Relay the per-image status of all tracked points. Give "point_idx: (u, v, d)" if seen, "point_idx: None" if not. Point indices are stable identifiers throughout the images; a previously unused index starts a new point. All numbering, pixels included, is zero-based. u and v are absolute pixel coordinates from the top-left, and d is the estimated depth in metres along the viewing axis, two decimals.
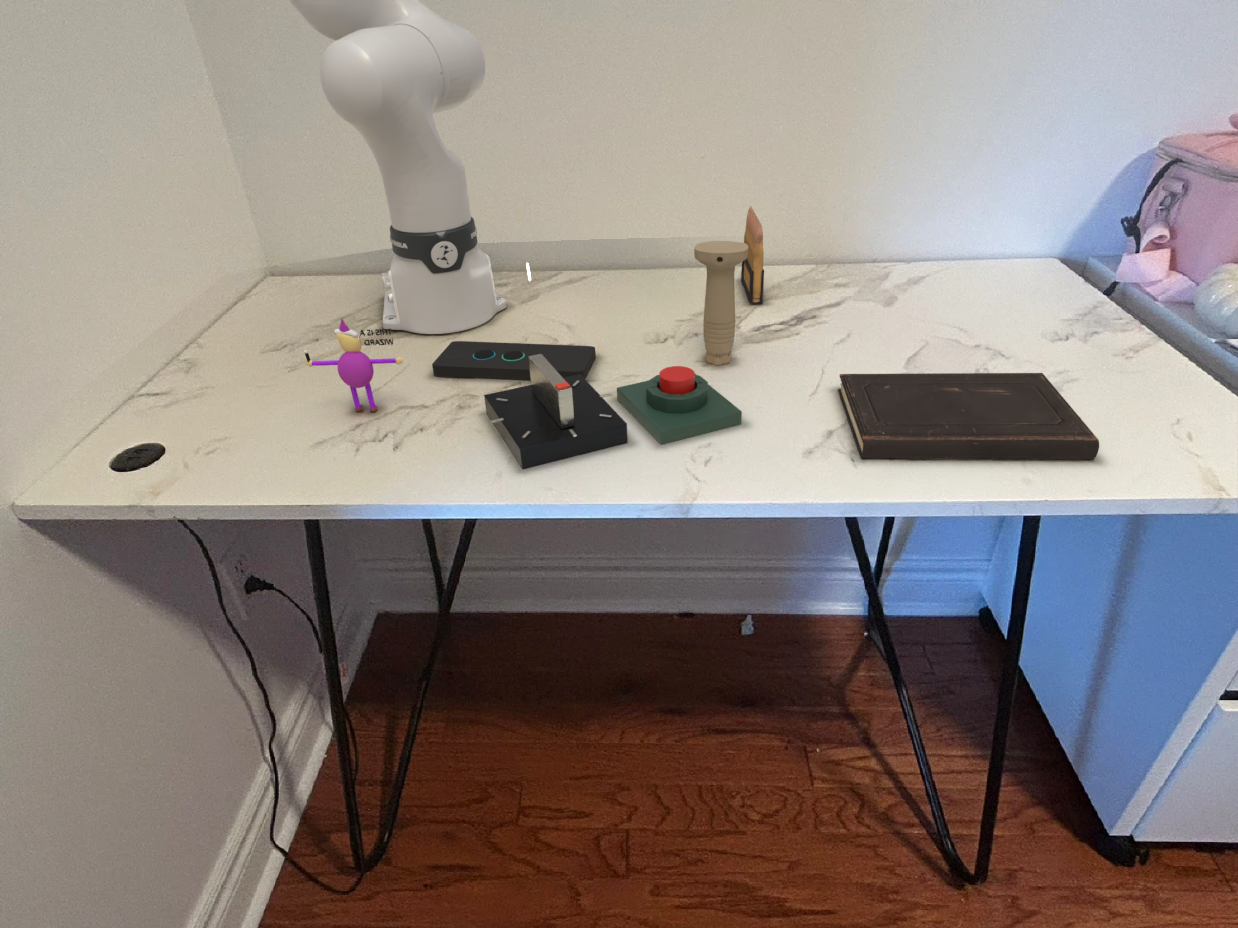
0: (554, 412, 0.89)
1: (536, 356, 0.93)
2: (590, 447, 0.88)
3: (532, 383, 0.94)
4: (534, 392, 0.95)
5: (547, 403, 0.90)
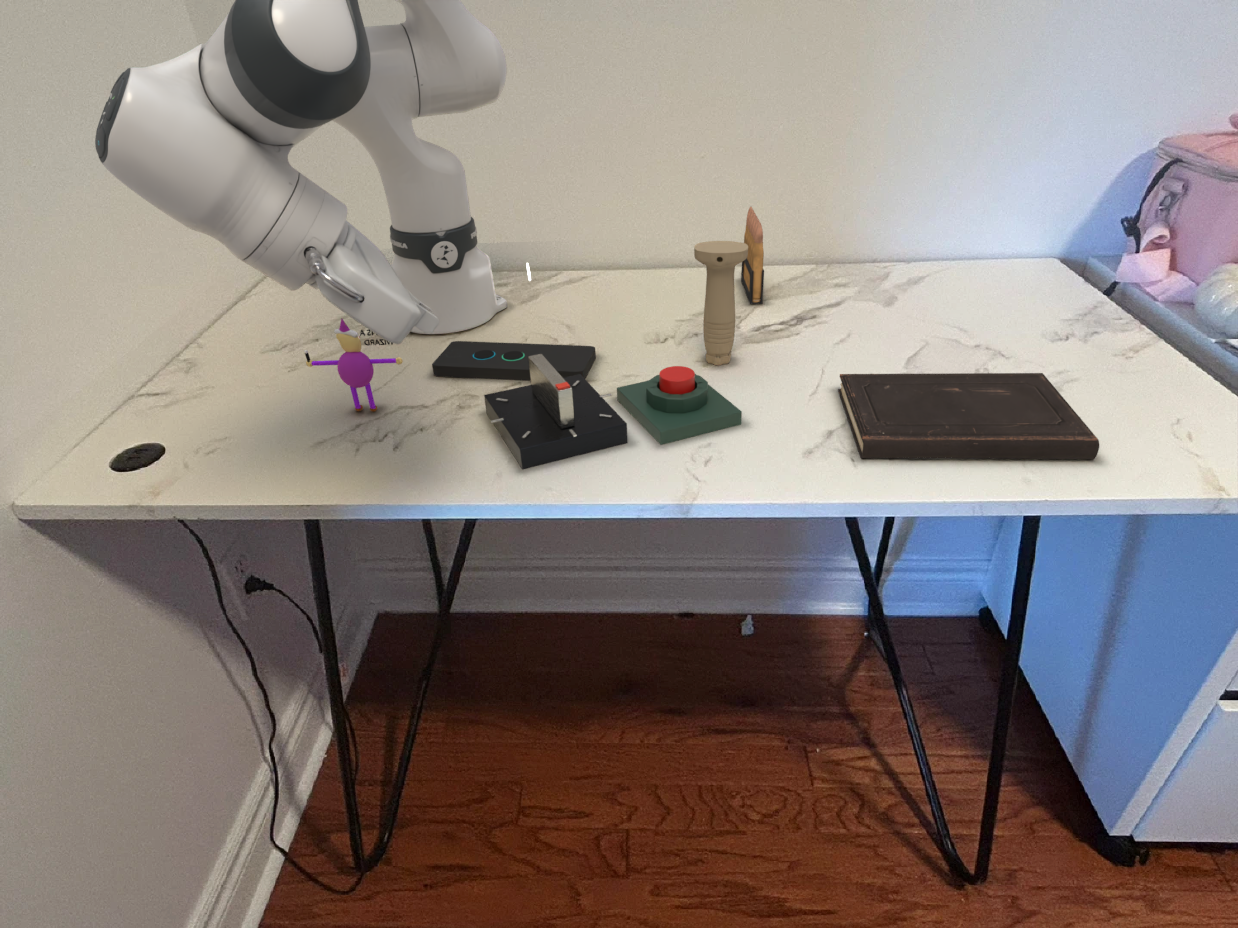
0: (554, 412, 0.89)
1: (536, 356, 0.93)
2: (590, 447, 0.88)
3: (532, 383, 0.94)
4: (534, 392, 0.95)
5: (547, 403, 0.90)
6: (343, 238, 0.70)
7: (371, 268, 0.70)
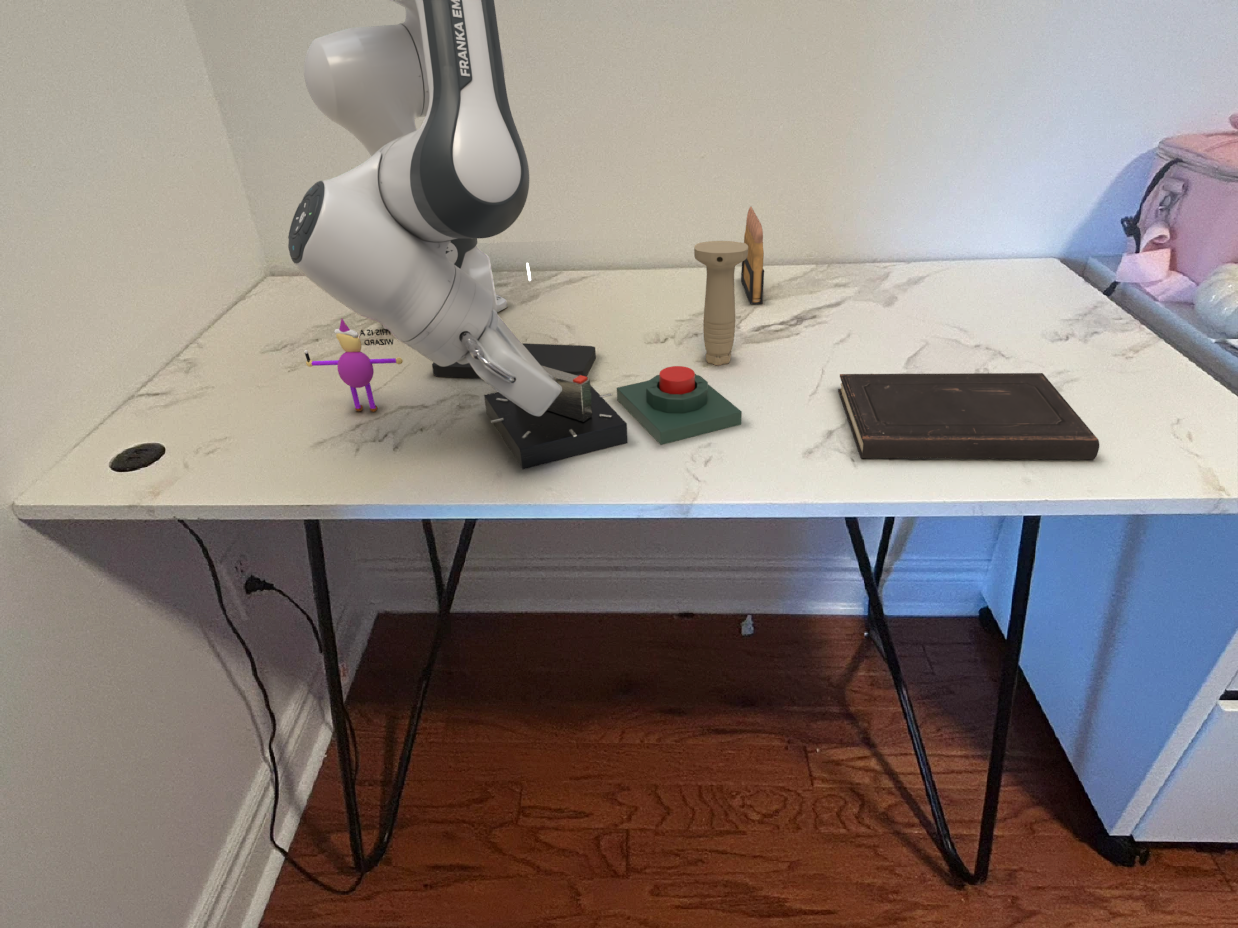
0: (569, 408, 0.89)
1: None
2: (590, 447, 0.88)
3: None
4: None
5: (553, 403, 0.90)
6: (489, 321, 0.79)
7: (513, 347, 0.79)
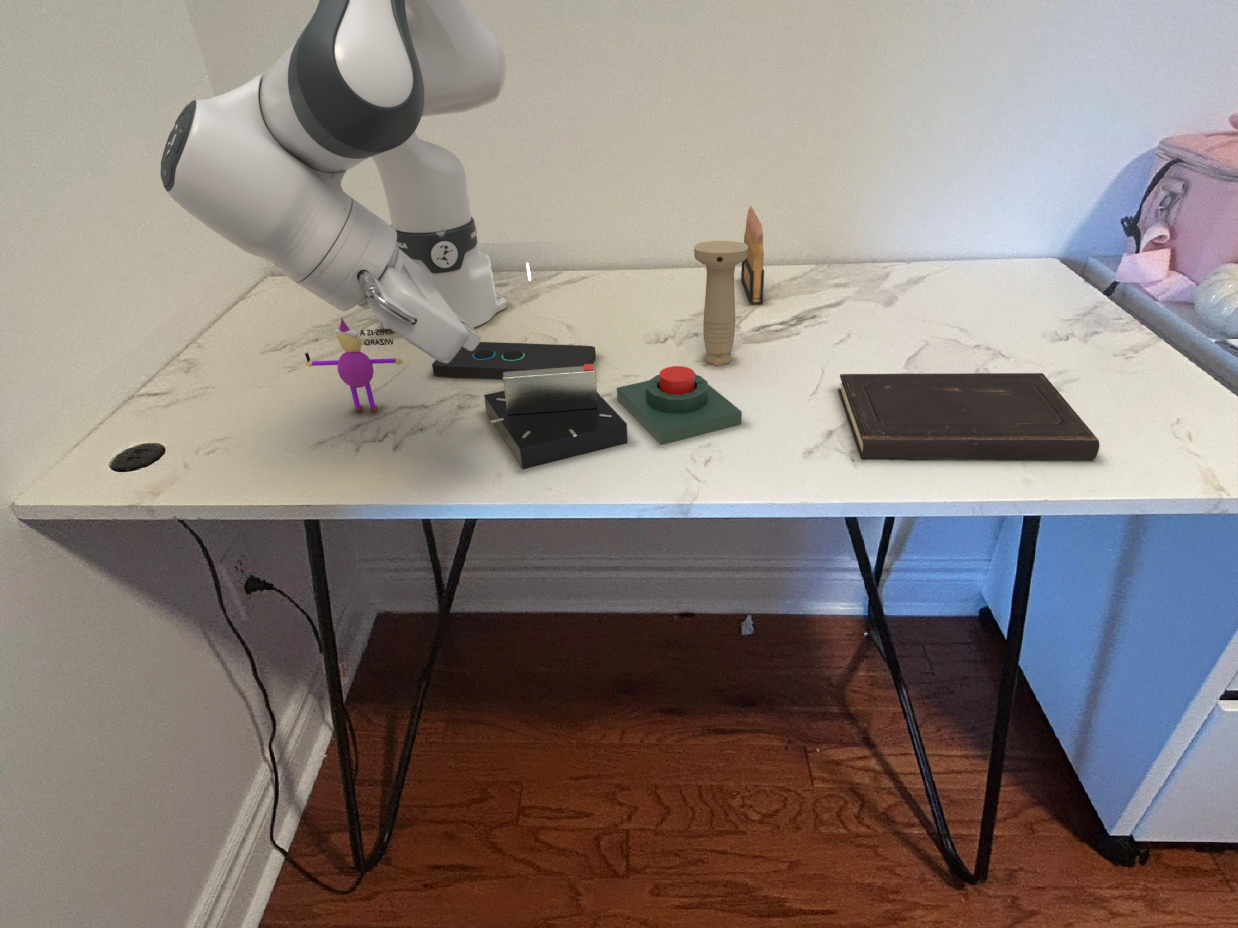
0: (580, 400, 0.91)
1: (508, 374, 0.89)
2: (590, 447, 0.88)
3: (511, 403, 0.90)
4: (517, 410, 0.91)
5: (559, 401, 0.91)
6: (393, 261, 0.72)
7: (419, 289, 0.73)
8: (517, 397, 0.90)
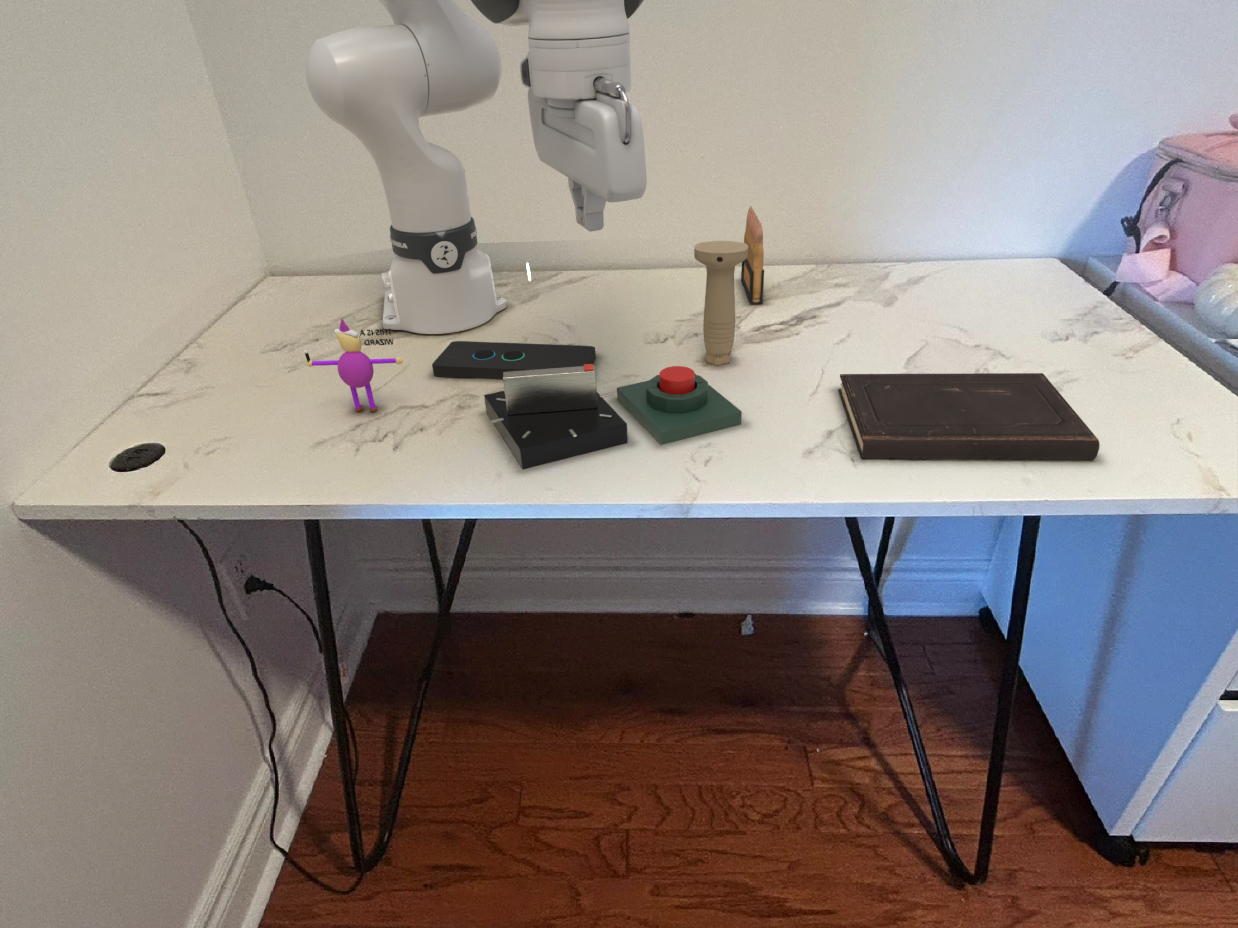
0: (580, 400, 0.91)
1: (508, 374, 0.89)
2: (590, 447, 0.88)
3: (511, 403, 0.90)
4: (517, 410, 0.91)
5: (559, 401, 0.91)
6: None
7: None
8: (517, 397, 0.90)
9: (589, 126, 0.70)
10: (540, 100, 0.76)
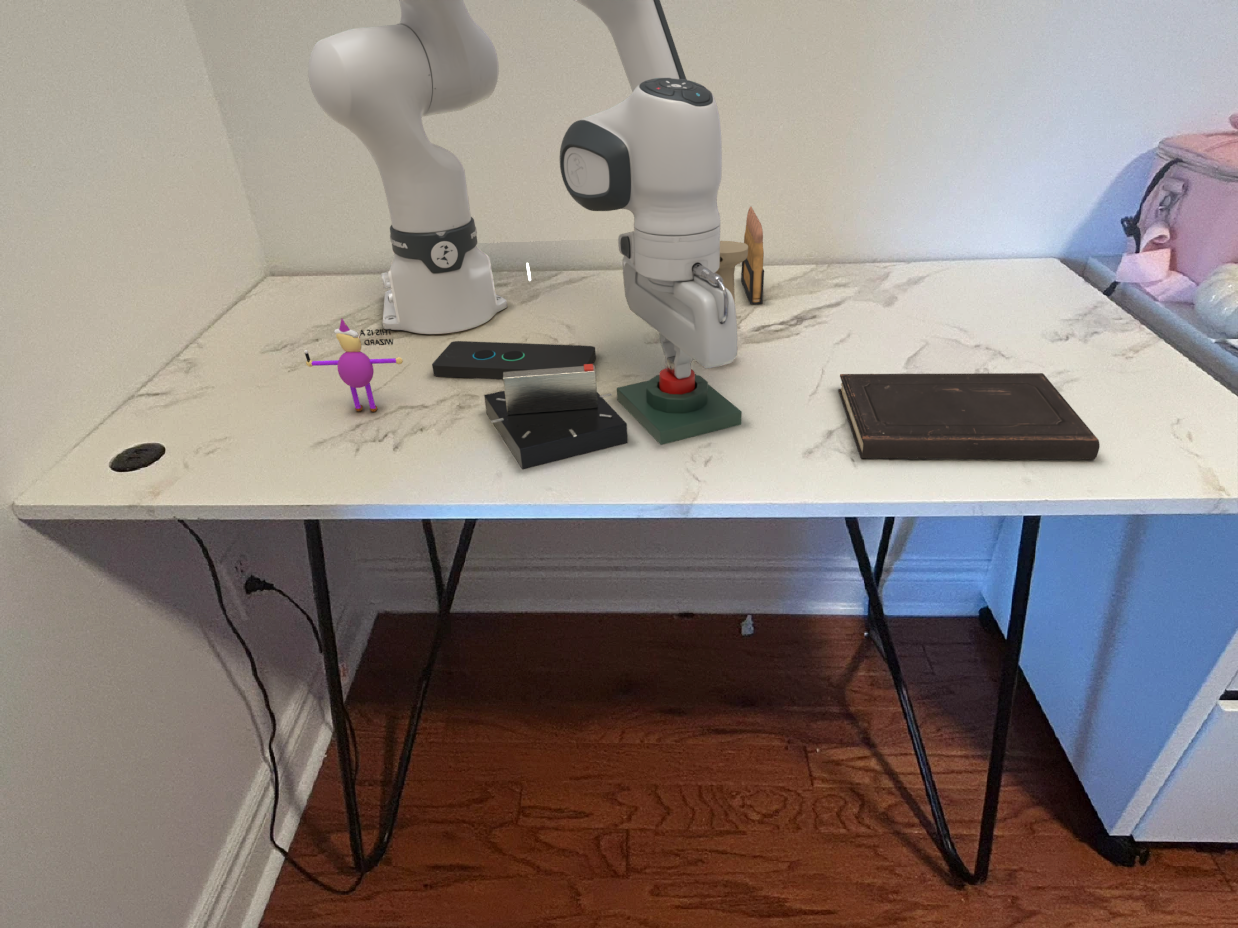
0: (580, 400, 0.91)
1: (508, 374, 0.89)
2: (590, 447, 0.88)
3: (511, 403, 0.90)
4: (517, 410, 0.91)
5: (559, 401, 0.91)
6: None
7: None
8: (517, 397, 0.90)
9: (688, 305, 0.82)
10: None
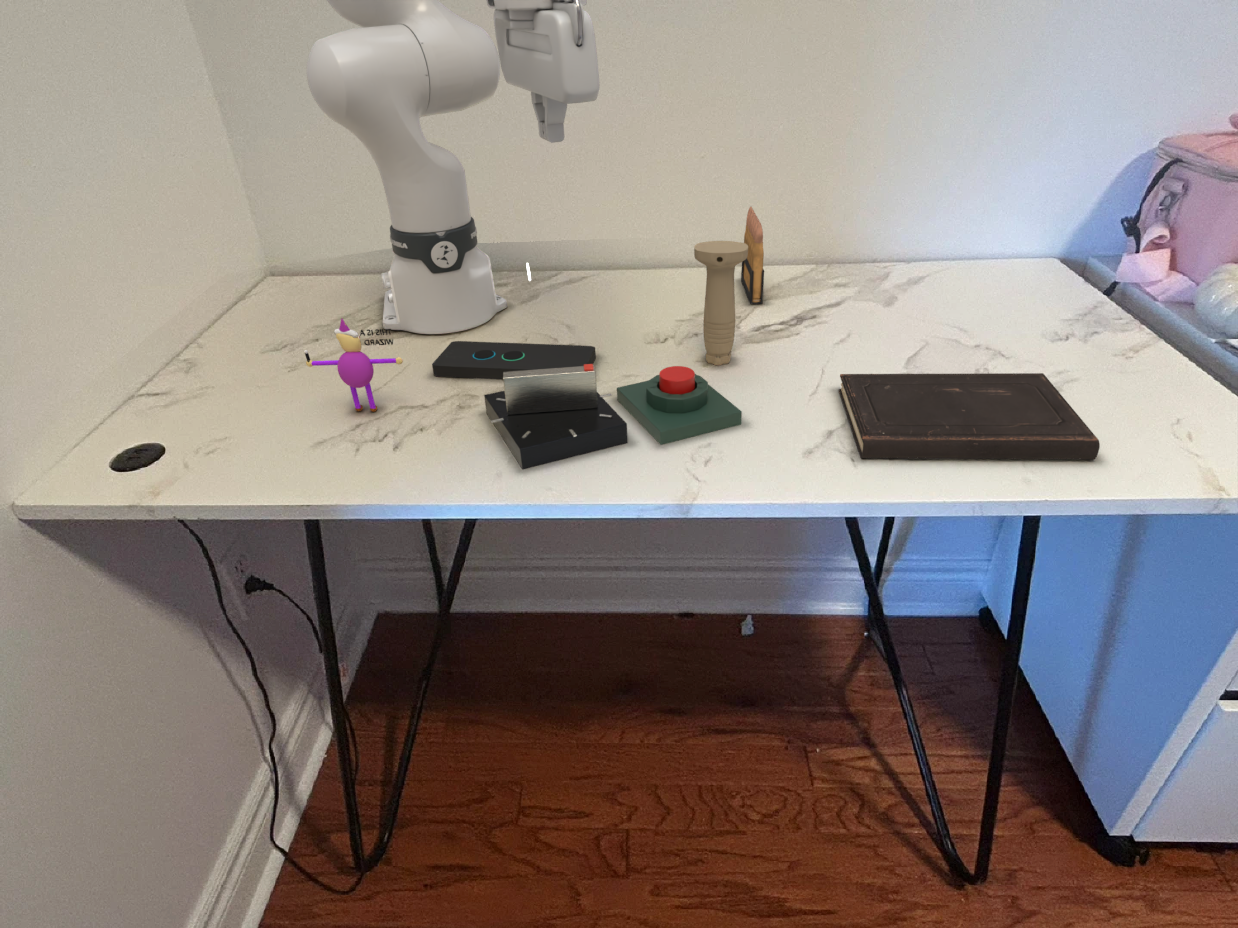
0: (580, 400, 0.91)
1: (508, 374, 0.89)
2: (590, 447, 0.88)
3: (511, 403, 0.90)
4: (517, 410, 0.91)
5: (559, 401, 0.91)
6: None
7: None
8: (517, 397, 0.90)
9: (545, 32, 0.75)
10: (503, 18, 0.82)
